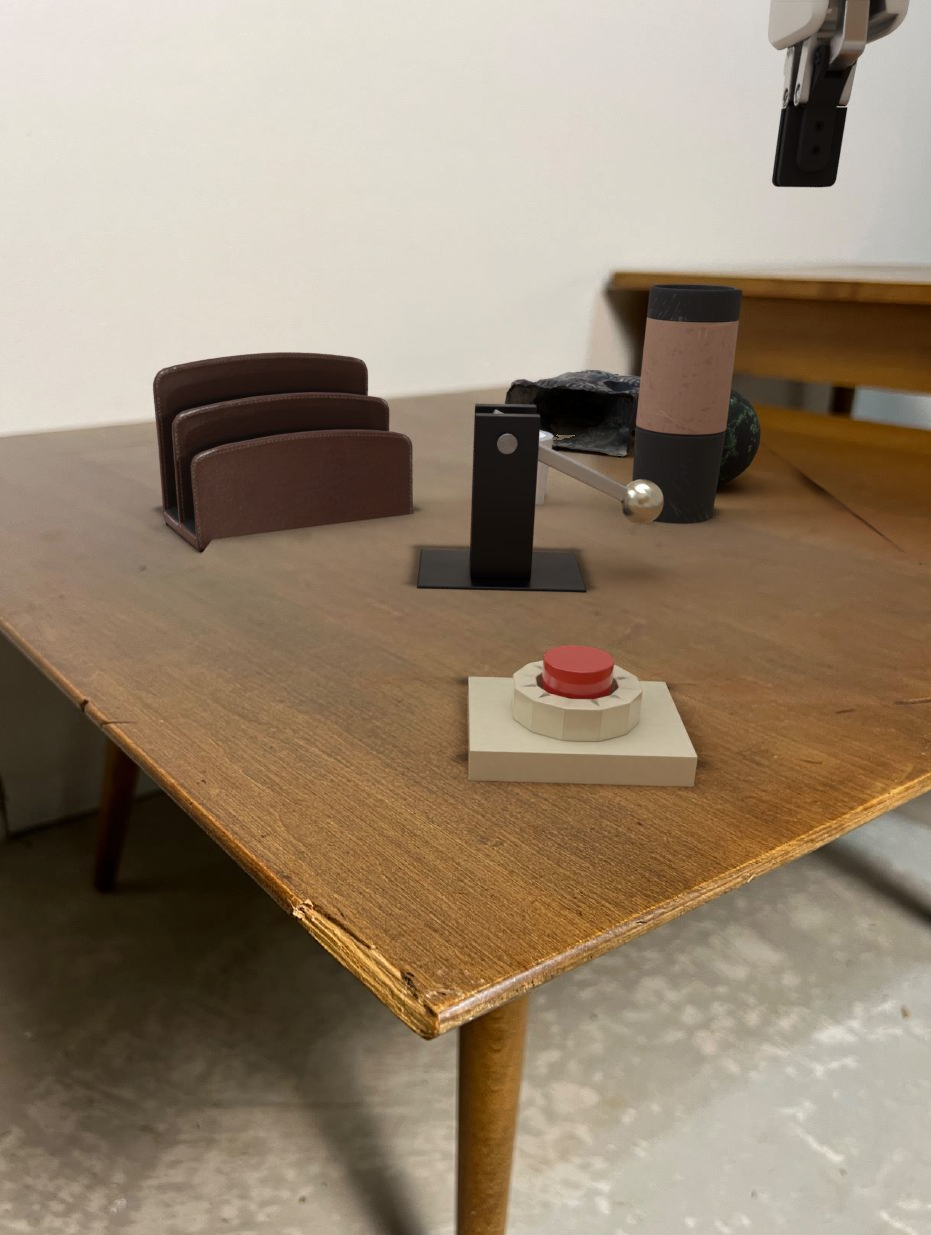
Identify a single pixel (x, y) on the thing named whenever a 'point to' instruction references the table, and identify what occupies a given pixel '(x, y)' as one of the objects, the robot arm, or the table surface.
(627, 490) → the lever
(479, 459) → the bracket
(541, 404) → the sculpture
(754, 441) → the decorative stone
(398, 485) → the letter holder
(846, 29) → the robot arm
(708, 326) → the travel mug
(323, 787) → the table surface
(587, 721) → the button block
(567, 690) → the button
